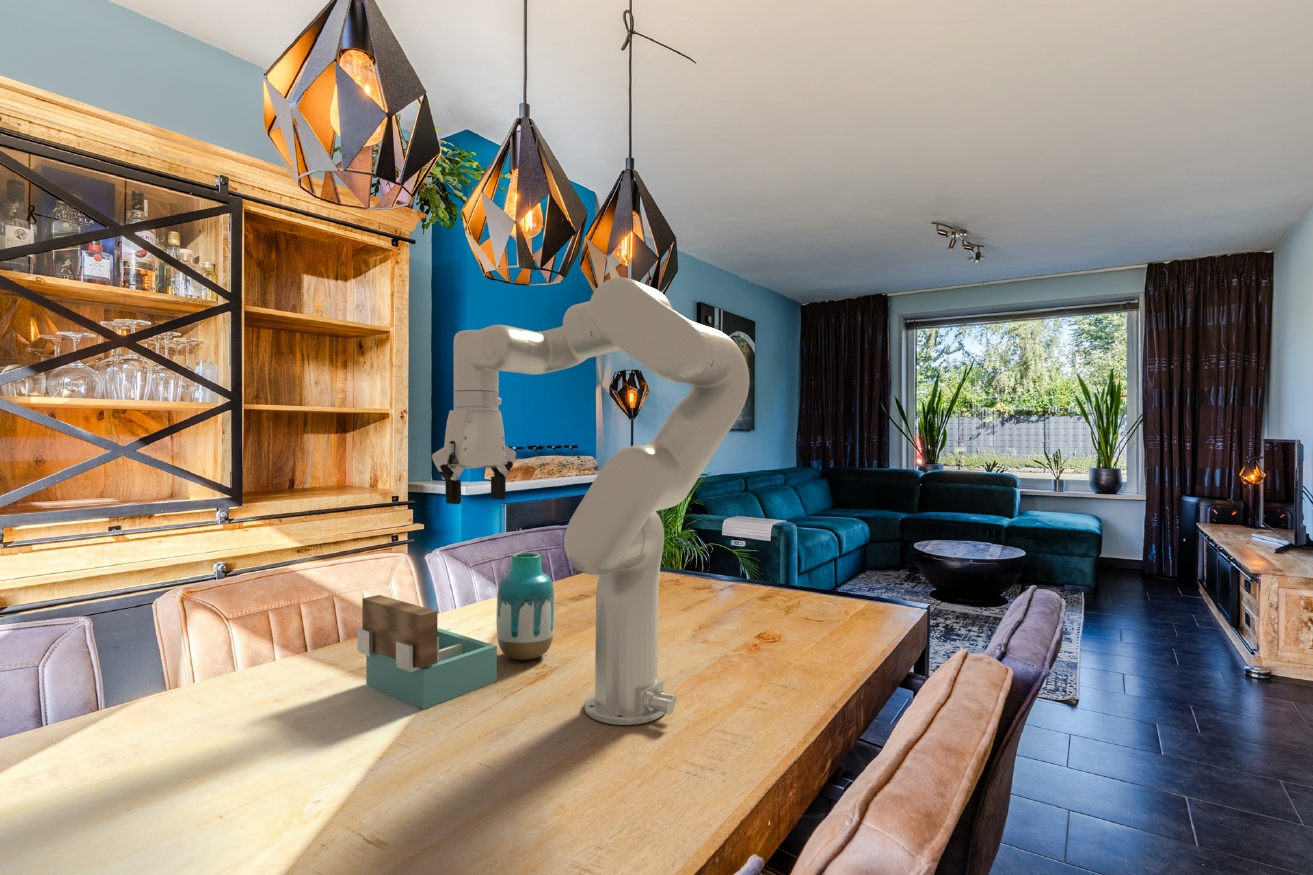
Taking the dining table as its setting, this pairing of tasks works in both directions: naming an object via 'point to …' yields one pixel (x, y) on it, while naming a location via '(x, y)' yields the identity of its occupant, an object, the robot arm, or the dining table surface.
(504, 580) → the vase
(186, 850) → the dining table surface
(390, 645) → the door
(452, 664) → the box
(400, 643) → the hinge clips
